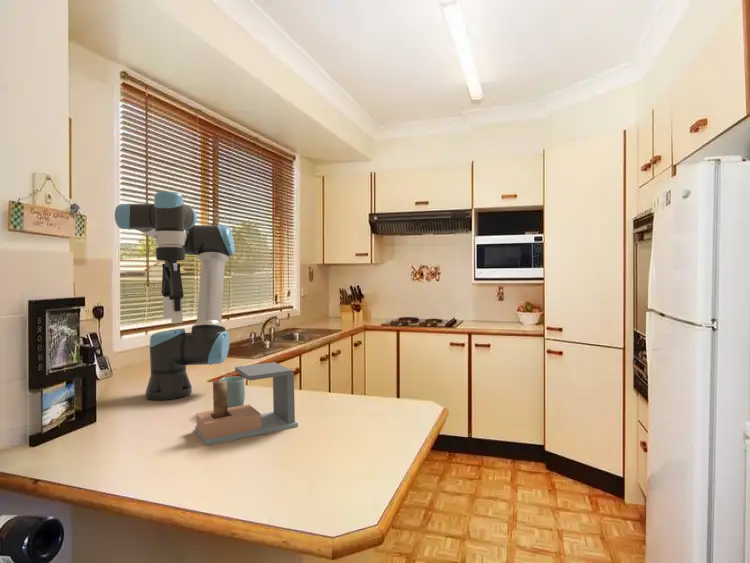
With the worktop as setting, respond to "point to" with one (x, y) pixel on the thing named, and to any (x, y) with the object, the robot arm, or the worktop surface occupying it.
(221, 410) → the peg
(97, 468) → the worktop surface
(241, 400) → the cup
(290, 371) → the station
